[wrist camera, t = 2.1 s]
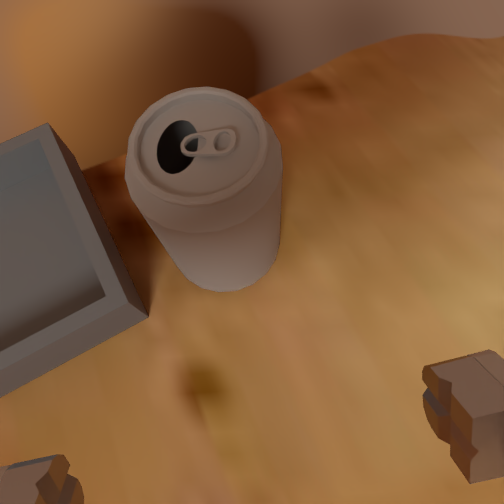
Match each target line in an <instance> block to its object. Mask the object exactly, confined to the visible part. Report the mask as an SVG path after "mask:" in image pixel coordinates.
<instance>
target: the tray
mask: <svg viewBox="0 0 504 504" xmlns="http://www.w3.org/2000/svg"><path fill="white" fill-rule="evenodd" d="M146 318H148V315H147V312H146V310H145V308H144V306H143V304H142V302H141V299H140V297H139V295H138V293H137V291H136V289H135V286H134V284H133V282H132V280H131V278H130V276H129V273H128V271H127V269H126V267H125V265H124V263H123V260H122V258H121V256H120V254H119V252H118V250H117V247H116V245H115V243H114V241H113V239H112V237H111V234H110V232H109V230H108V228H107V226H106V224H105V221H104V219H103V217H102V215H101V213H100V211H99V208H98V206H97V204H96V202H95V200H94V198H93V196H92V193H91V191H90V189H89V187H88V185H87V183H86V180H85V178H84V176H83V174H82V172H81V170H80V167H79V165H78V163H77V161H76V159H75V157H74V155H73V154H72V153H71V151H70V150H69V149H68V148H67V146H66V145H65V144H64V143H63V141H62V140H61V139H60V137H59V136H58V135H57V134H56V132H55V131H54V130H53V128H52V127H51V126H50V125H49V123H46V124H44V125H41V126H39V127H37V128H34V129H32V130H30V131H28V132H26V133H24V134H21V135H19V136H17V137H14V138H12V139H10V140H8V141H6V142H3V143H1V144H0V397H2V396H4V395H6V394H8V393H10V392H11V391H13V390H15V389H17V388H19V387H21V386H22V385H24V384H26V383H28V382H30V381H32V380H34V379H35V378H37V377H39V376H41V375H43V374H45V373H46V372H48V371H50V370H52V369H54V368H56V367H58V366H59V365H61V364H63V363H65V362H67V361H69V360H70V359H72V358H74V357H76V356H78V355H80V354H82V353H83V352H85V351H87V350H89V349H91V348H93V347H94V346H96V345H98V344H100V343H102V342H104V341H106V340H107V339H109V338H111V337H113V336H115V335H117V334H118V333H120V332H122V331H124V330H126V329H128V328H130V327H131V326H133V325H135V324H137V323H139V322H141V321H142V320H144V319H146Z"/></svg>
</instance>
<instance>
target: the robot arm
mask: <svg viewBox="0 0 504 504" xmlns="http://www.w3.org/2000/svg"><path fill="white" fill-rule="evenodd" d="M422 380H423V381H424V383H425V384H426V386H427V387H428V388H427V389H426V391H425V392H424V394H423V407H424V410H425V414H426V417H427V420H428V422H429V424H430V426H431V428H432V429H433V431H434V432H435V434H436V435H437V437H438V438H439V439H441V440H443V441H444V442H446V443H448V444H450V456H451V458H452V459H453V460H454V462H455V463H456V465H457V466H458V468H459V469H460V471H461V472H462V474H463V475H464V476H465V478H466V479H467V481H468V482H469V484H472V483H476V482H481V481H486V480H490V479H495V478H499V477H504V359H503V358H502V357H501V356H499V355H498V354H497V353H496V352H494V351H492V350H485V351H482V352H478V353H474V354H470V355H467V356H462V357H458V358H454V359H450V360H446V361H442V362H438V363H434V364H430V365H426V366H424V368H423V370H422ZM69 467H70V464H69V462H68V461H67V459H66V457H65V456H64V455H61V454H57V455H52V456H48V457H43V458H38V459H34V460H29V461H24V462H20V463H15V464H12V465H8V466H3V467H0V504H84V494H83V490H82V486H81V484H80V482H79V480H78V479H77V478H75V477H73V476H71V475H69V474H67V473H68V470H69Z"/></svg>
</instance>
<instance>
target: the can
mask: <svg viewBox="0 0 504 504" xmlns="http://www.w3.org/2000/svg"><path fill="white" fill-rule="evenodd" d="M282 174H283V162H282V152H281V144H280V142H279V140H278V138H277V136H276V134H275V133H274V131H273V129H272V127H271V125H269V124H268V123H267V122H266V121H265V120H264V119H263V117H262V115H261V113H260V111H259V110H258V109H257V108H255V107H254V106H253V105H252V104H251V103H250V102H249V101H248V100H247V99H246V98H244V97H242V96H239V95H237V94H235V93H233V92H231V91H229V90H225V89H219V88H213V87H197V88H187V89H183V90H180V91H177V92H175V93H172V94H169V95H166V96H165V97H163V98H162V99H160V100H158V101H157V102H155V103H154V104H153V105H151V106H149V108H148V109H147V110H146V111H145V112H144V113H143V114H142V115H141V117H140V118H139V119H138V120H137V121H136V123H135V125H134V128H133V130H132V132H131V135H130V137H129V141H128V154H127V156H126V167H125V180H126V183H127V187H128V190H129V193H130V196H131V199H132V200H133V202H134V203H135V205H136V206H137V208H138V209H139V211H140V212H141V214H142V215H143V216H144V218H145V219H146V221H147V222H148V224H149V225H150V227H151V228H152V230H153V231H154V233H155V234H156V236H157V237H158V239H159V240H160V242H161V243H162V245H163V246H164V248H165V249H166V251H167V252H168V253H169V255H170V256H171V258H172V259H173V261H174V262H175V264H176V265H177V267H178V268H179V269H180V271H181V272H182V273H183V274H184V276H185V277H186V278H187V279H188V280H190V281H191V282H193V283H194V284H196V285H198V286H199V287H201V288H204V289H208V290H212V291H216V292H226V291H237V290H240V289H242V288H245V287H247V286H250V285H252V284H254V283H255V282H256V281H258V280H259V279H260V278H261V277H263V276H264V275H265V274H266V273H267V272H268V270H269V269H270V267H271V266H272V264H273V262H274V261H275V259H276V255H277V252H278V248H279V243H280V220H281V197H282Z"/></svg>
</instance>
